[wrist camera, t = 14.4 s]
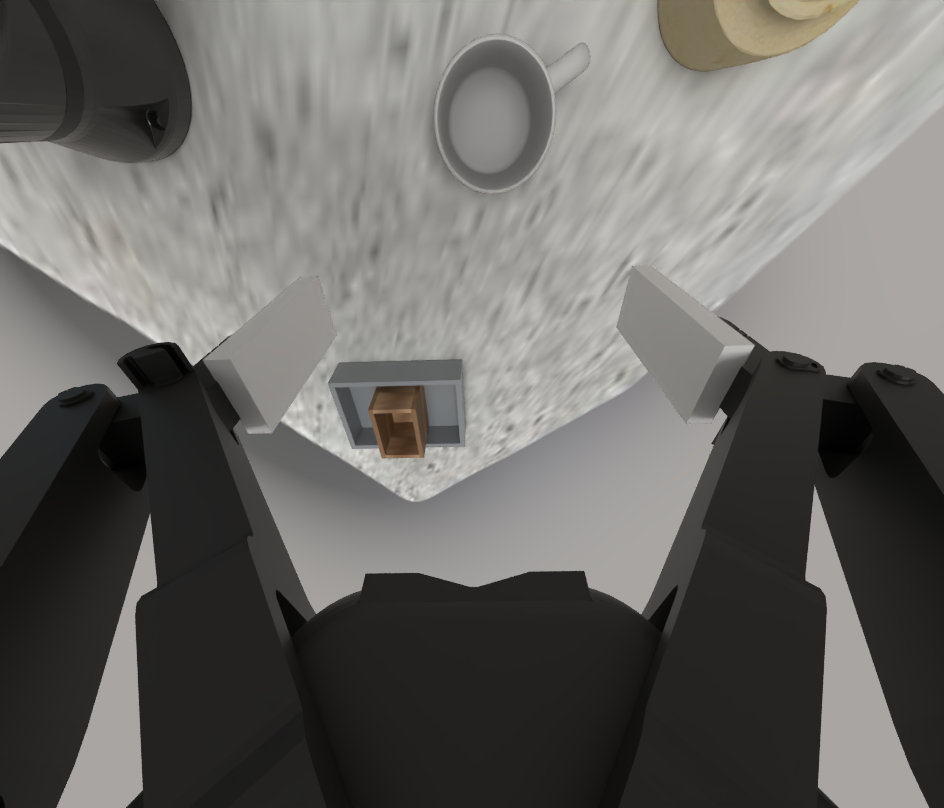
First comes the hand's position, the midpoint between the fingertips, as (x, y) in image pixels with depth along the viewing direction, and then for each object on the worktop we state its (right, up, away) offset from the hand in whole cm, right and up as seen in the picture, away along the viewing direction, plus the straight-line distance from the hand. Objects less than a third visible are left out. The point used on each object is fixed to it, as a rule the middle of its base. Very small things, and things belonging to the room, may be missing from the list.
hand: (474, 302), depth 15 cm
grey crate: (-10, -3, +37) cm, 39 cm away
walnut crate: (-10, -4, +36) cm, 38 cm away
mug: (+3, +23, +16) cm, 28 cm away
